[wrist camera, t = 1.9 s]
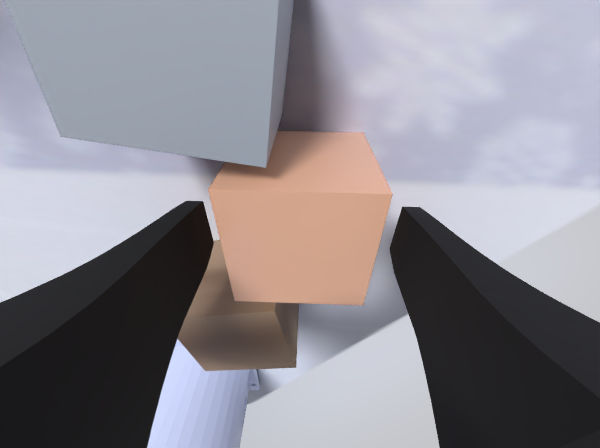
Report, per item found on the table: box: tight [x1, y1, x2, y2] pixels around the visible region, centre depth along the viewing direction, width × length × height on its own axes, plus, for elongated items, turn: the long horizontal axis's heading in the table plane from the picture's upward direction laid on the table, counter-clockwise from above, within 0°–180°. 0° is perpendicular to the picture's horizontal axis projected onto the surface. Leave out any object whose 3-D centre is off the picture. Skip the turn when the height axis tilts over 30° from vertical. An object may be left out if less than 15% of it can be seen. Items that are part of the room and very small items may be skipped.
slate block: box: [4, 0, 294, 168], centre depth 7 cm, size 5×5×5 cm
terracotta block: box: [208, 131, 393, 305], centre depth 11 cm, size 5×5×5 cm
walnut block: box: [177, 240, 299, 371], centre depth 14 cm, size 5×5×5 cm
